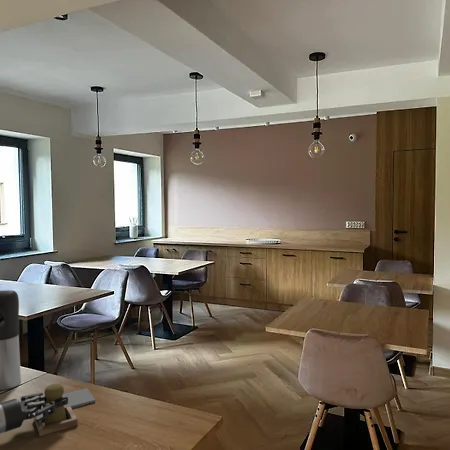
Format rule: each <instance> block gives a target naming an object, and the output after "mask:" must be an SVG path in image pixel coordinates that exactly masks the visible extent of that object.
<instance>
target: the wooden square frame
mask: <svg viewBox="0 0 450 450" xmlns="http://www.w3.org/2000/svg"><path fill="white" fill-rule="evenodd" d="M64 409H65V414H66V415H67V418H68V419H67V420H65V421H61V422H58V423H54V424H51V425H47V426H44V423H43V422H42V421H45V419H43V420H41V421H39V422H35V418H33V420H34V424H35V426H36V428H37V432H38V435H39V437H42V436H45V435H48V434H51V433H52V434H53V433H55V432H59V431H63V430H65V429H69V428H73V427H76V426H79V425H78V421H79V420H78V417H77V416H76V414H75V412H74V410H73V408H71V407H70V405H67V406H64Z"/></svg>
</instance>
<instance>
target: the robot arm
mask: <svg viewBox="0 0 450 450" xmlns="http://www.w3.org/2000/svg"><path fill="white" fill-rule="evenodd" d="M19 308H20V300H19V294H18V293H17V292H16V291H15V290H12V289H10V290H9V289H7V290H0V319H1V318H4V319H3V323H1V324H0V391H3V390H9V389H13V388H15V387H17V386H19V385H20V384H21V383H22V378H21V377H22V375H21V355H20V341H19V326H20V312H19V311H20V309H19ZM67 404H68V397H67V396H65V397H62V398H59V399H56V400H53V401H48V402H47V398H46V397H45V393H44V392H38V393H32V394H28V395H22V396H20V401H19V399H17V398H13V399H10V400H6V401H3V402H0V435H1V434H6V433H7V432H10V431H13V430H16V429H19V428H21V426H22V425H23V422H24V421H26V420H30V419H31V420H32V419H34V418H35V421H34V423H35V422H39V421H44V420H45V418H47V417H49V416H50V415H52V414H54V413H55V408H58V407H61V406H64V405H67ZM46 405H48V406H46ZM43 419H44V420H43Z"/></svg>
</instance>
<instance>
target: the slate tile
mask: <svg viewBox="0 0 450 450" xmlns="http://www.w3.org/2000/svg"><path fill="white" fill-rule="evenodd" d="M65 396H67V397H68V404H67V405H70V407H71V408H72V409H77V408H79V407H82V406H86V404H87V405H90V404H94V403H96V399H95V397H94V395H92V393H91V391H90V390H89V388H88V387H86V388H82V389H77V390H75V391H70V392H66V393H63V395H62V397H65ZM93 402H94V403H93ZM89 403H90V404H89ZM67 405H64V406H67Z"/></svg>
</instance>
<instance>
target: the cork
mask: <svg viewBox="0 0 450 450" xmlns="http://www.w3.org/2000/svg"><path fill="white" fill-rule="evenodd" d="M43 394H45V397H46V398H47V402H48V401H53V400H56V399H59V398H62V395H63V394H65V390H64V386H63V385H62V384H60V383H52V384H49V385H47V386H46V387H45V388H44V392H43ZM46 406H48V405H46ZM66 415H67V413H66V414H65V409H64V406H61V407H58V408H55V413H54V414H52V415H50V416H49V417H47V418H45V419H44V423H43V427H44V426H47V425H51V424H54V423H58V422H61V421H65V420H68V419H67V416H66Z"/></svg>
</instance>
